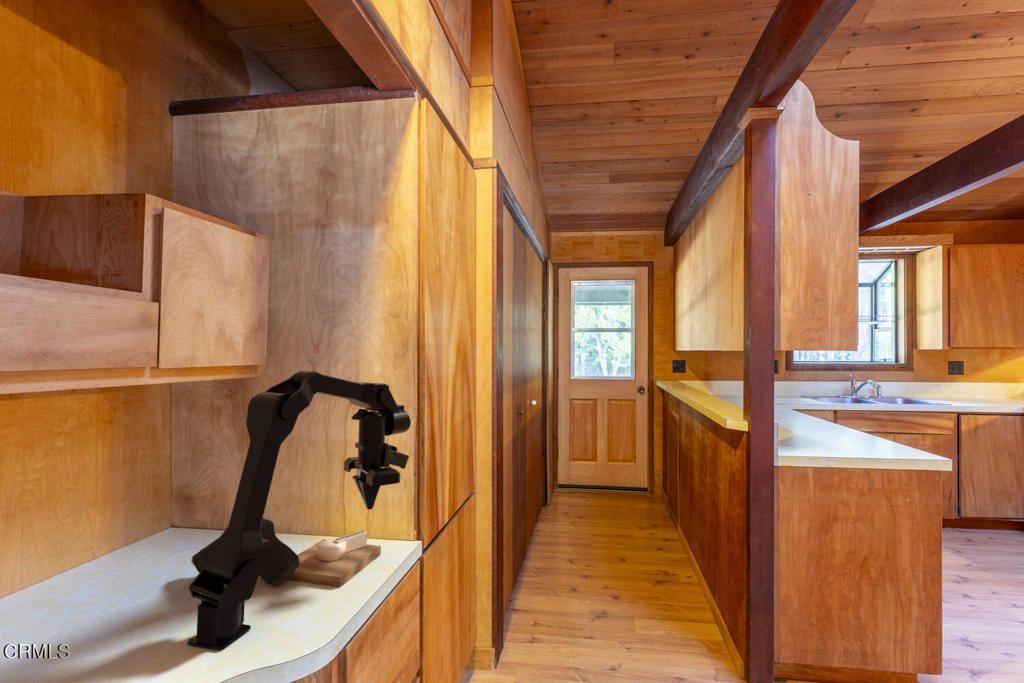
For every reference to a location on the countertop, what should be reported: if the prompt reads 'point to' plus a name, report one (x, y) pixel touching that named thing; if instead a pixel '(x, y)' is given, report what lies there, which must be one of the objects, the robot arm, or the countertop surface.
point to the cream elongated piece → (340, 546)
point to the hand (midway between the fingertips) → (369, 508)
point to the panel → (333, 566)
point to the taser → (277, 561)
